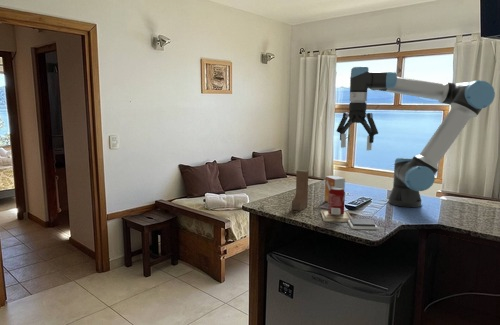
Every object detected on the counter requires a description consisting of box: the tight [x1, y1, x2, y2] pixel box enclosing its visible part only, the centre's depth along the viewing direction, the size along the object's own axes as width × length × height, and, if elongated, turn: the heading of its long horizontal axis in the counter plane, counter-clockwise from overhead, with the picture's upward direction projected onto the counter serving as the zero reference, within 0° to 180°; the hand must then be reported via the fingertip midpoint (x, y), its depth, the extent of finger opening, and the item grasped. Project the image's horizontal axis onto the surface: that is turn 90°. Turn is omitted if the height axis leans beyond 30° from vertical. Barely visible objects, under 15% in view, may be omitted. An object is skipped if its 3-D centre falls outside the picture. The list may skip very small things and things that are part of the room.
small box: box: [324, 175, 346, 203], centre depth 179 cm, size 8×6×13 cm
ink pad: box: [347, 218, 379, 231], centre depth 145 cm, size 10×8×2 cm
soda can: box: [327, 187, 346, 216], centre depth 155 cm, size 7×7×12 cm
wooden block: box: [291, 169, 309, 212], centre depth 168 cm, size 9×4×18 cm, turn 149°
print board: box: [320, 209, 353, 223], centre depth 156 cm, size 12×12×1 cm
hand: (355, 148), depth 164 cm, fingers open, 13 cm apart
